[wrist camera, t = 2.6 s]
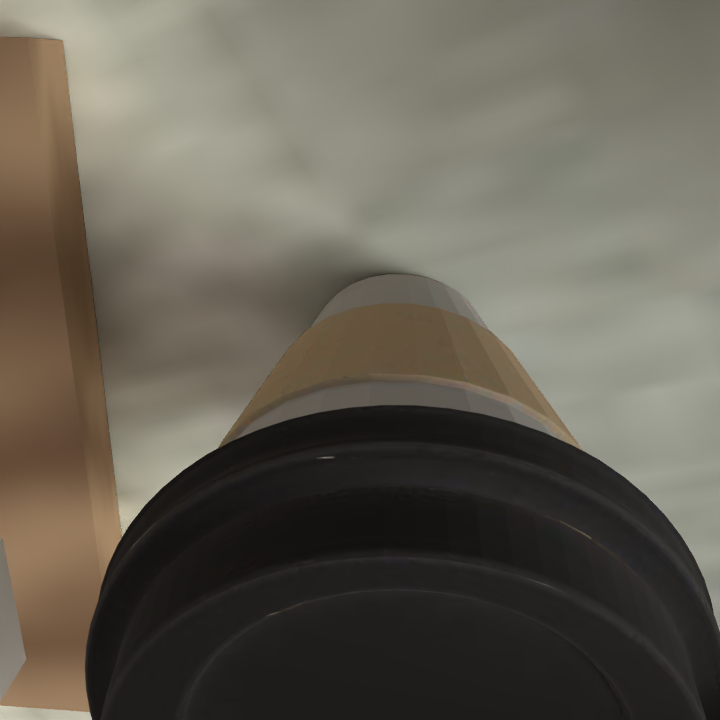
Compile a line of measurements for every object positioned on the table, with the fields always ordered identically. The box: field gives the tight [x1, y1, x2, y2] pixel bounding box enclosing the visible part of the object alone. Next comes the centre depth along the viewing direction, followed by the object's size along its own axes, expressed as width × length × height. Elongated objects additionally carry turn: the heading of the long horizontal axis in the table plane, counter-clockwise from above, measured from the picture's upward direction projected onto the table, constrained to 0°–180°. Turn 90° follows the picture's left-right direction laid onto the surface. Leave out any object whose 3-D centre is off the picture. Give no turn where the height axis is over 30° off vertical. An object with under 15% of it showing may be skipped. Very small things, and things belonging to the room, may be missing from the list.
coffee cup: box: [85, 274, 720, 720], centre depth 16 cm, size 9×9×15 cm
